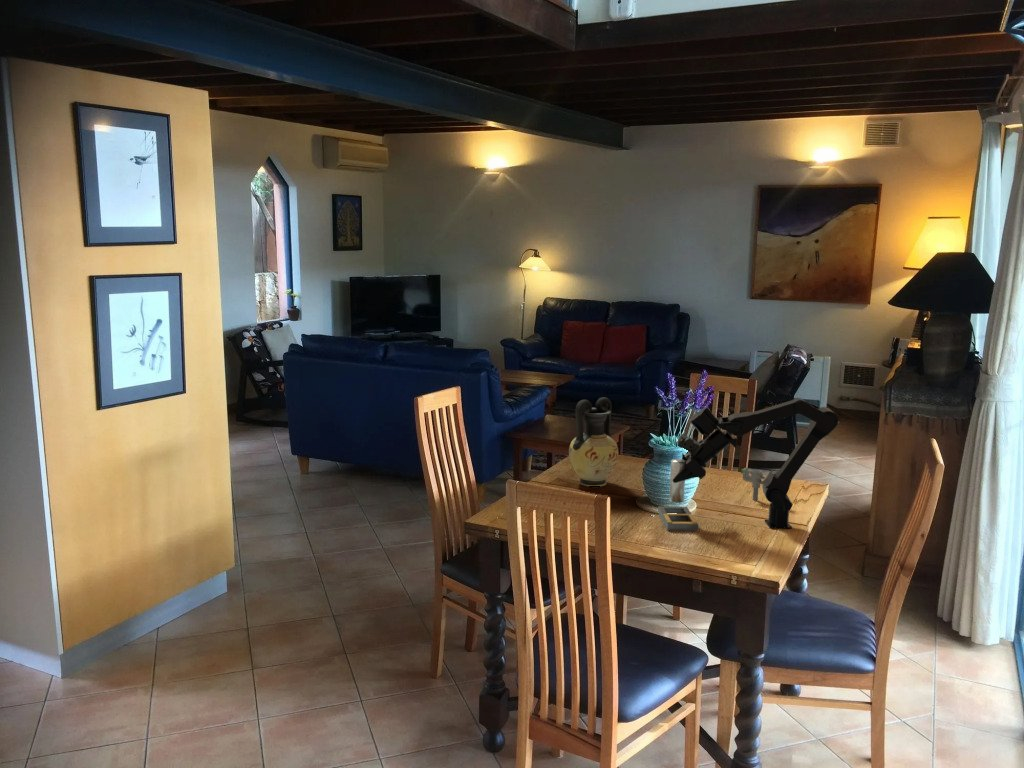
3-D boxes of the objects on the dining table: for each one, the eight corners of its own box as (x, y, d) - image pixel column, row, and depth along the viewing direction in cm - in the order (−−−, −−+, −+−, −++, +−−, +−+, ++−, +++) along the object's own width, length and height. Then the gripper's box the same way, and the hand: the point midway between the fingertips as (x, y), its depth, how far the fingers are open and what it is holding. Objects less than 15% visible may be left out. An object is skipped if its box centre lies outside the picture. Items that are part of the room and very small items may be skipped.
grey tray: (697, 531, 246) (698, 523, 246) (667, 530, 246) (667, 523, 246) (686, 513, 262) (686, 505, 262) (657, 512, 262) (658, 505, 262)
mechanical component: (768, 504, 272) (770, 474, 270) (738, 498, 278) (740, 469, 276) (771, 502, 274) (774, 472, 272) (741, 496, 280) (743, 467, 279)
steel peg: (685, 502, 253) (687, 462, 251) (671, 502, 253) (673, 462, 251) (681, 498, 258) (684, 458, 256) (667, 498, 258) (669, 458, 255)
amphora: (589, 473, 303) (592, 391, 298) (627, 483, 292) (631, 399, 287) (557, 482, 291) (559, 398, 286) (595, 494, 279) (598, 405, 274)
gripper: (691, 419, 260) (653, 452, 263) (696, 433, 242) (655, 468, 245) (715, 445, 260) (678, 477, 264) (722, 461, 242) (681, 496, 246)
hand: (673, 479), depth 255 cm, fingers closed on steel peg, 4 cm apart
